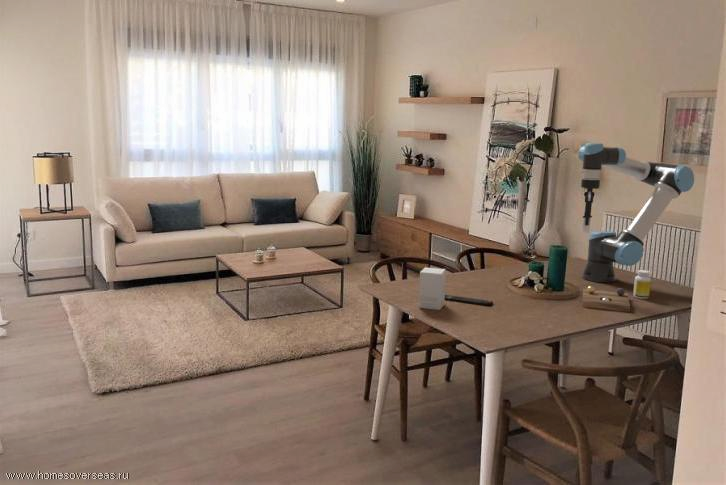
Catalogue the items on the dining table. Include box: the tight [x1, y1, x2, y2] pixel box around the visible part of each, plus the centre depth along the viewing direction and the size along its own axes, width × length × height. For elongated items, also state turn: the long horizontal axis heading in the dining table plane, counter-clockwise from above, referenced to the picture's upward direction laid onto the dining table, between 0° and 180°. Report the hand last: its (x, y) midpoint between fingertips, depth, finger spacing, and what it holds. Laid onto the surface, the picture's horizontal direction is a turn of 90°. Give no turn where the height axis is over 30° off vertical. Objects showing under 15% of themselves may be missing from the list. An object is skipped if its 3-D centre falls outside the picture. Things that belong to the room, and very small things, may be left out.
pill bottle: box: [632, 269, 652, 300], centre depth 277 cm, size 6×6×12 cm
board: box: [581, 287, 631, 313], centre depth 269 cm, size 20×18×2 cm
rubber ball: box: [616, 287, 626, 295], centre depth 271 cm, size 3×3×3 cm
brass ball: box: [586, 285, 596, 294], centre depth 273 cm, size 3×3×3 cm
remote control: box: [444, 294, 494, 307], centre depth 267 cm, size 5×24×1 cm, turn 67°
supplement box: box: [418, 266, 446, 311], centre depth 258 cm, size 9×9×15 cm
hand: (585, 232), depth 283 cm, fingers closed
